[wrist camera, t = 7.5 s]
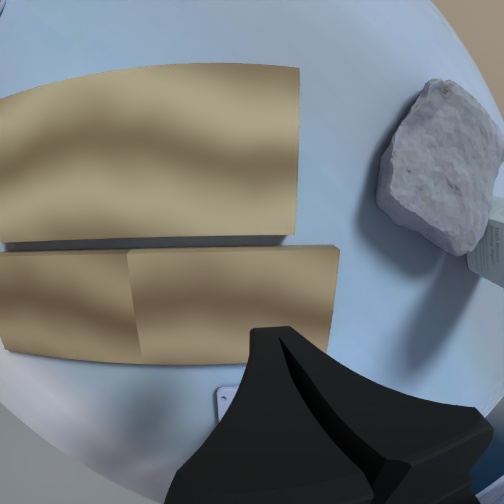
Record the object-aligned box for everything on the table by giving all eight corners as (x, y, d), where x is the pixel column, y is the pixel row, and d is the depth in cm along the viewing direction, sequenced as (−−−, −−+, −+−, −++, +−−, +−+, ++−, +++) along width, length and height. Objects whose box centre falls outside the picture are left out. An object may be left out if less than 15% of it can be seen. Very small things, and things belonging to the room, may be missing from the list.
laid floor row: (320, 347, 22) (325, 355, 21) (11, 342, 19) (5, 349, 18) (332, 244, 20) (339, 249, 19) (-13, 252, 17) (-21, 256, 15)
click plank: (290, 230, 19) (295, 234, 18) (10, 238, 17) (1, 242, 15) (294, 73, 16) (299, 67, 15) (6, 102, 14) (-4, 100, 12)
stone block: (350, 202, 21) (447, 257, 21) (372, 203, 16) (480, 270, 17) (399, 74, 19) (486, 138, 19) (425, 52, 14) (520, 130, 15)
